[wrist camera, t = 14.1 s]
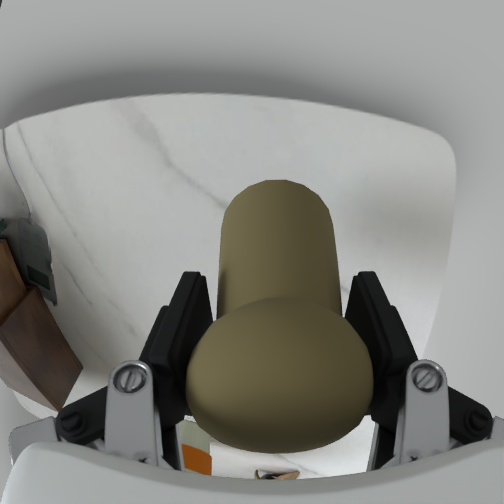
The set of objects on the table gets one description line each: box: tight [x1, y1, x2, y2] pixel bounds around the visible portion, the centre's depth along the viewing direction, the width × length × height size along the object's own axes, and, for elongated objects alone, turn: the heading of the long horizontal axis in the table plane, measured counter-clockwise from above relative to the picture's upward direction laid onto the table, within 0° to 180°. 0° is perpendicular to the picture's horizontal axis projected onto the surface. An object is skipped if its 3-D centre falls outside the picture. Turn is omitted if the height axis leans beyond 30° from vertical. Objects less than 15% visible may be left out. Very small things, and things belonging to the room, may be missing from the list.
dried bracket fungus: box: [254, 470, 299, 480], centre depth 54 cm, size 18×14×8 cm
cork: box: [185, 180, 374, 454], centre depth 10 cm, size 6×6×11 cm
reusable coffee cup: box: [179, 420, 212, 476], centre depth 37 cm, size 13×13×15 cm
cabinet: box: [0, 284, 83, 412], centre depth 29 cm, size 17×15×10 cm
